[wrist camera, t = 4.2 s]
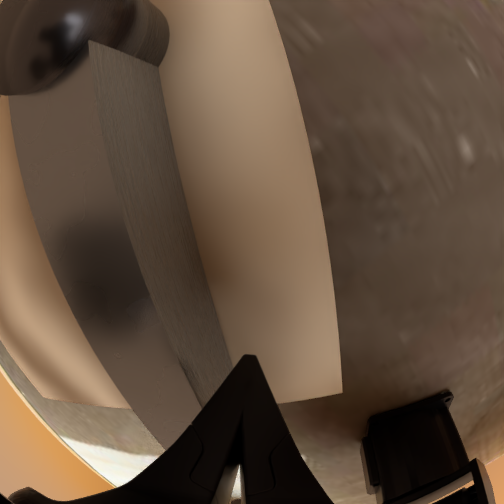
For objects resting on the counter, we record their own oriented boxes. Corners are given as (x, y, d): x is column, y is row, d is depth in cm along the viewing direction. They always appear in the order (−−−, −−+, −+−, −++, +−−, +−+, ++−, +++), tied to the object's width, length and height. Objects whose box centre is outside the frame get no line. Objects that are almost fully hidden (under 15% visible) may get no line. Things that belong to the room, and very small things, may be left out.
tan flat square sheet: (236, -72, 6) (234, -84, 5) (339, 378, 14) (342, 392, 13) (-64, 132, 9) (-74, 135, 8) (48, 389, 17) (43, 397, 17)
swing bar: (72, 27, 6) (-12, 6, 2) (163, -13, 6) (101, -75, 2) (182, 393, 13) (162, 467, 9) (253, 392, 13) (247, 473, 9)
